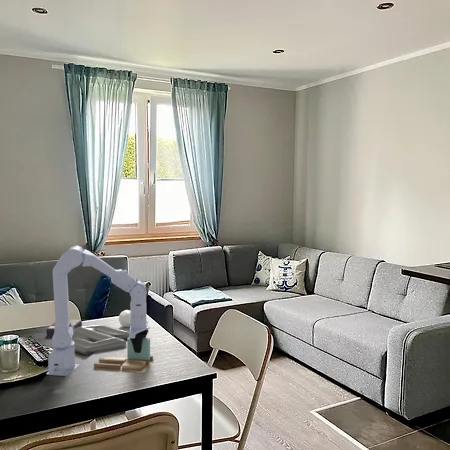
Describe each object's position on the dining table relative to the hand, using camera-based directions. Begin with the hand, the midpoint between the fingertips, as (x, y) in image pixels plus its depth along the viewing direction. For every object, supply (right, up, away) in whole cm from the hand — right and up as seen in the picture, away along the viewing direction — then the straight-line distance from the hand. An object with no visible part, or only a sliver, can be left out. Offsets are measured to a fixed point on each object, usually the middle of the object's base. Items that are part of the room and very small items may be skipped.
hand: (138, 351), depth 171 cm
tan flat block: (-1, -5, -5) cm, 7 cm away
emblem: (-21, -4, +22) cm, 31 cm away
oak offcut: (-1, -4, -5) cm, 6 cm away
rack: (-5, -5, -2) cm, 7 cm away
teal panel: (0, -3, 0) cm, 3 cm away
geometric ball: (-14, -1, +45) cm, 47 cm away
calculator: (-40, -2, +38) cm, 55 cm away
